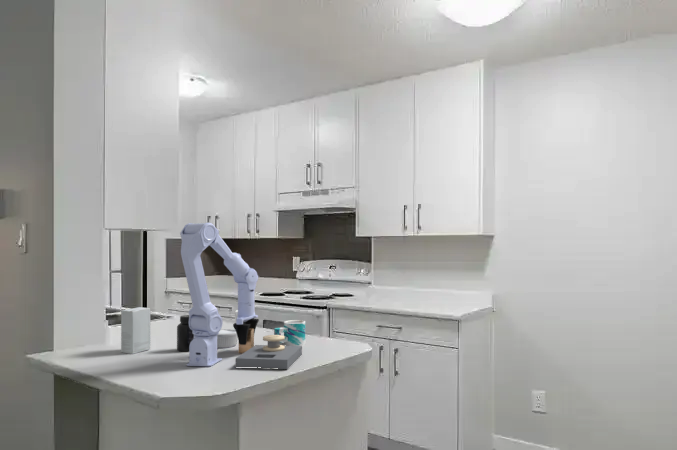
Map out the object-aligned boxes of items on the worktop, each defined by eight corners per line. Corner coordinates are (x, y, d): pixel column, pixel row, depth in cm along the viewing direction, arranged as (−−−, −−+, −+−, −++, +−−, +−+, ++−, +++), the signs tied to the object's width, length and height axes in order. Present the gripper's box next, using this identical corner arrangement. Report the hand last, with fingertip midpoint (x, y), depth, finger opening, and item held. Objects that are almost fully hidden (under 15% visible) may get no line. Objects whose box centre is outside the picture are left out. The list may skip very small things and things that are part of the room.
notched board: (287, 369, 153) (287, 346, 153) (235, 368, 156) (235, 344, 156) (301, 355, 173) (301, 334, 173) (255, 353, 175) (255, 333, 175)
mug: (309, 344, 190) (309, 321, 191) (281, 349, 183) (281, 325, 183) (297, 341, 197) (297, 319, 197) (270, 345, 190) (270, 322, 190)
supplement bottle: (172, 351, 181) (172, 316, 181) (186, 347, 187) (186, 314, 187) (187, 352, 177) (187, 317, 178) (201, 349, 183) (201, 315, 184)
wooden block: (251, 353, 176) (251, 329, 176) (238, 353, 177) (238, 329, 177) (253, 351, 179) (253, 328, 179) (241, 351, 180) (241, 328, 180)
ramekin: (244, 343, 193) (244, 329, 194) (230, 349, 183) (230, 334, 183) (217, 342, 196) (217, 328, 197) (201, 348, 186) (201, 333, 186)
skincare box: (139, 348, 186) (139, 306, 186) (151, 349, 183) (151, 307, 183) (119, 352, 178) (120, 309, 179) (132, 354, 175) (132, 310, 176)
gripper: (250, 305, 171) (251, 346, 170) (263, 300, 185) (263, 338, 185) (230, 305, 172) (230, 346, 171) (244, 300, 186) (244, 338, 186)
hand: (246, 342), depth 178 cm, fingers open, 7 cm apart
